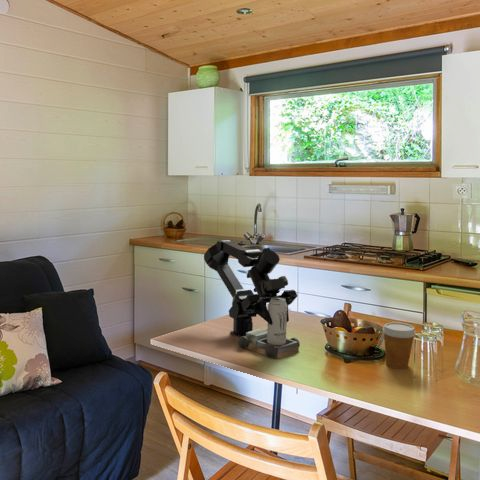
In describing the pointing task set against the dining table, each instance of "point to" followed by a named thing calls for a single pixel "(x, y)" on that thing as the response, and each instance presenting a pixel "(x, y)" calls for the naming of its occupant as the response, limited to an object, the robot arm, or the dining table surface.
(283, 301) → the energy drink can
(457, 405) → the dining table surface
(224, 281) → the robot arm
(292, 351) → the chassis
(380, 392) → the dining table surface
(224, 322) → the dining table surface
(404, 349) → the disposable coffee cup
